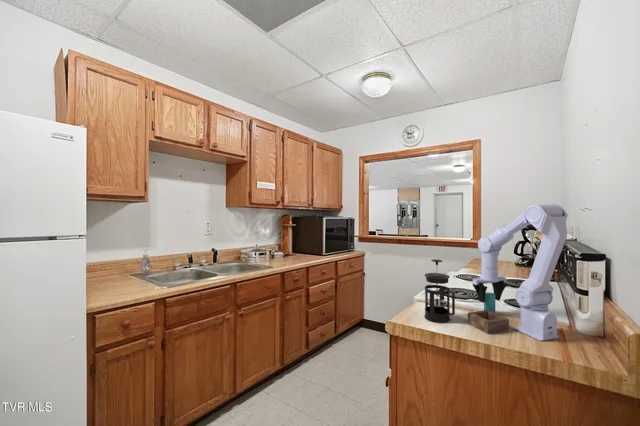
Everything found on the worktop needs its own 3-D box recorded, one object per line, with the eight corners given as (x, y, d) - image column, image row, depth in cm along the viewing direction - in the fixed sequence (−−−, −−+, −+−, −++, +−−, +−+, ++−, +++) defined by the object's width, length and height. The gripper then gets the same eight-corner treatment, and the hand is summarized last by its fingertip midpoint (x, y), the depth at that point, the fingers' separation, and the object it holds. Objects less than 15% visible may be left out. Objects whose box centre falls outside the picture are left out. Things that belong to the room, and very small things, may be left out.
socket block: (509, 330, 98) (509, 319, 98) (487, 333, 95) (487, 322, 95) (487, 320, 106) (487, 310, 106) (467, 323, 104) (467, 312, 104)
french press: (418, 317, 110) (417, 259, 109) (429, 311, 116) (429, 256, 116) (448, 327, 101) (448, 263, 101) (459, 319, 108) (458, 260, 107)
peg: (497, 314, 112) (497, 294, 112) (489, 315, 111) (489, 295, 111) (489, 311, 116) (489, 292, 116) (481, 312, 115) (481, 292, 115)
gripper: (495, 264, 119) (495, 295, 119) (466, 266, 115) (466, 299, 115) (510, 267, 112) (510, 301, 112) (480, 270, 108) (480, 305, 108)
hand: (489, 300), depth 113 cm, fingers open, 7 cm apart
